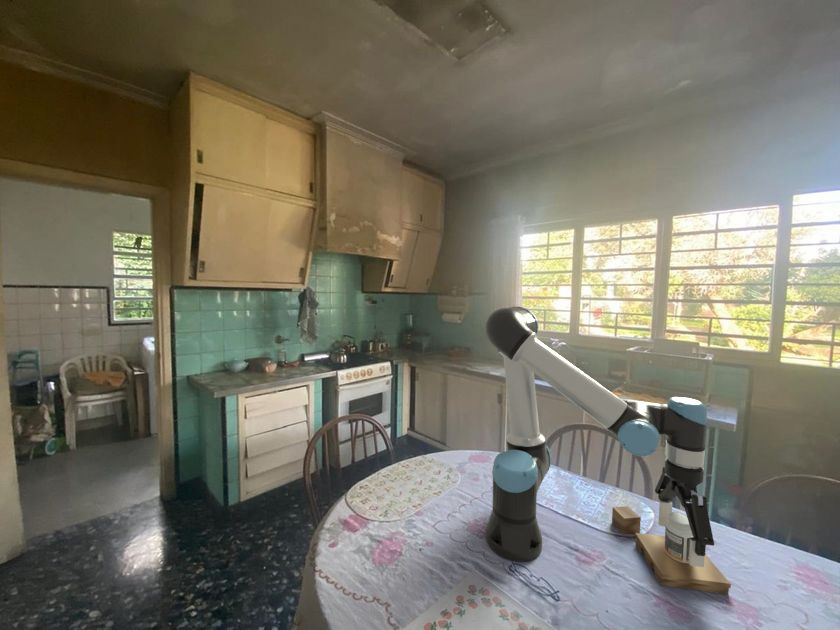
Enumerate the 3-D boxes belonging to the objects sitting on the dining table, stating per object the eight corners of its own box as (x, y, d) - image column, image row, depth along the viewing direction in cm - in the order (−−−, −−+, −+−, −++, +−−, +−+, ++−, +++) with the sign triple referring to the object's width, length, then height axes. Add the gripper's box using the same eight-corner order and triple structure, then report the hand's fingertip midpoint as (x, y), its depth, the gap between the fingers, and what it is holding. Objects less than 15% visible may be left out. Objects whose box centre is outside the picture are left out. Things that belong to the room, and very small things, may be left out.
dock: (661, 586, 79) (662, 574, 79) (634, 543, 93) (635, 532, 93) (729, 596, 77) (730, 583, 76) (691, 549, 90) (692, 539, 90)
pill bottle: (682, 547, 87) (684, 511, 86) (698, 565, 81) (700, 526, 81) (659, 546, 88) (661, 509, 87) (673, 564, 82) (675, 525, 81)
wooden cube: (623, 535, 96) (624, 518, 96) (611, 523, 101) (612, 507, 101) (639, 533, 97) (640, 517, 96) (627, 522, 101) (628, 506, 101)
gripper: (739, 493, 70) (733, 589, 71) (672, 440, 94) (668, 513, 96) (699, 489, 71) (693, 583, 73) (643, 438, 96) (639, 510, 97)
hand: (679, 543), depth 84 cm, fingers open, 13 cm apart
